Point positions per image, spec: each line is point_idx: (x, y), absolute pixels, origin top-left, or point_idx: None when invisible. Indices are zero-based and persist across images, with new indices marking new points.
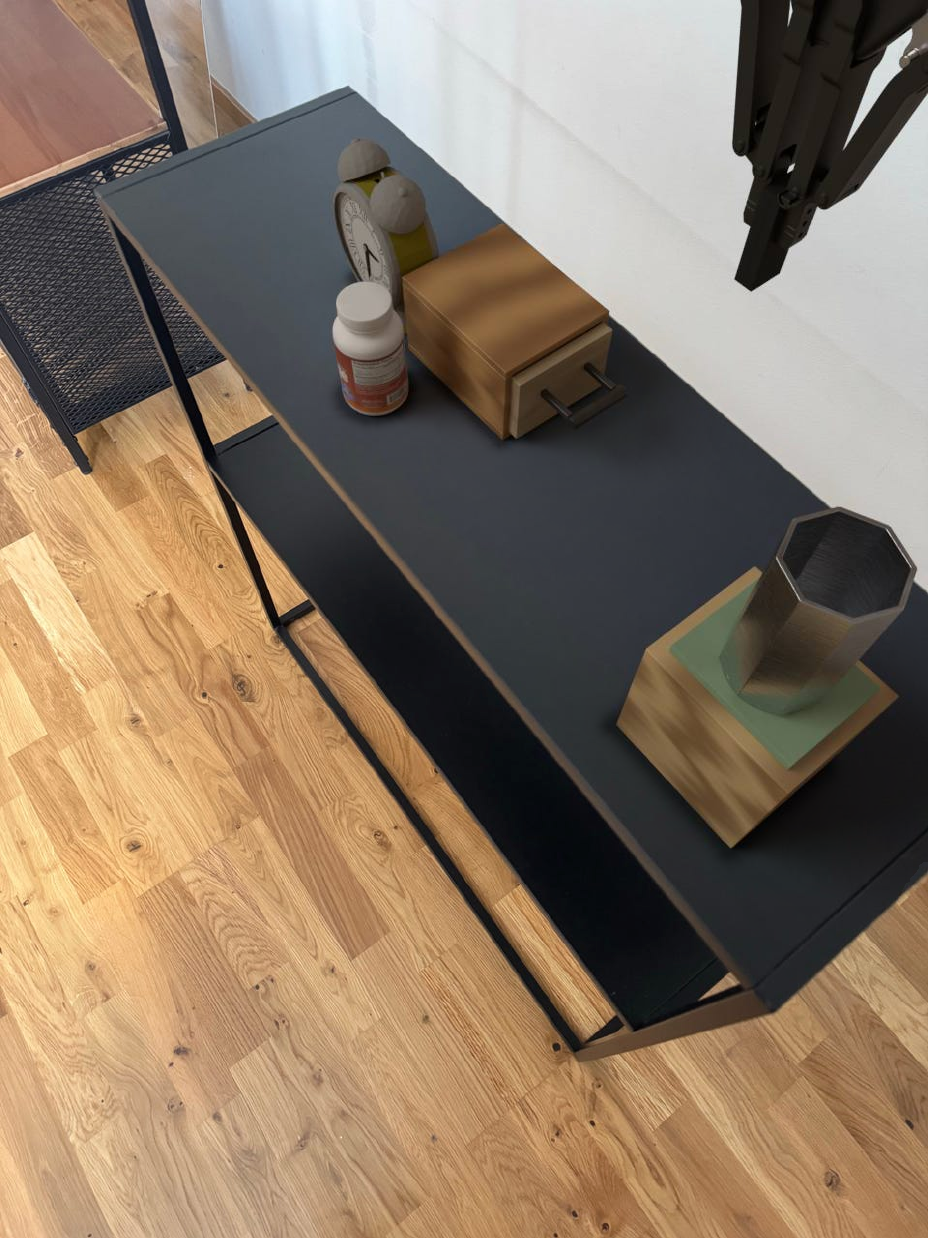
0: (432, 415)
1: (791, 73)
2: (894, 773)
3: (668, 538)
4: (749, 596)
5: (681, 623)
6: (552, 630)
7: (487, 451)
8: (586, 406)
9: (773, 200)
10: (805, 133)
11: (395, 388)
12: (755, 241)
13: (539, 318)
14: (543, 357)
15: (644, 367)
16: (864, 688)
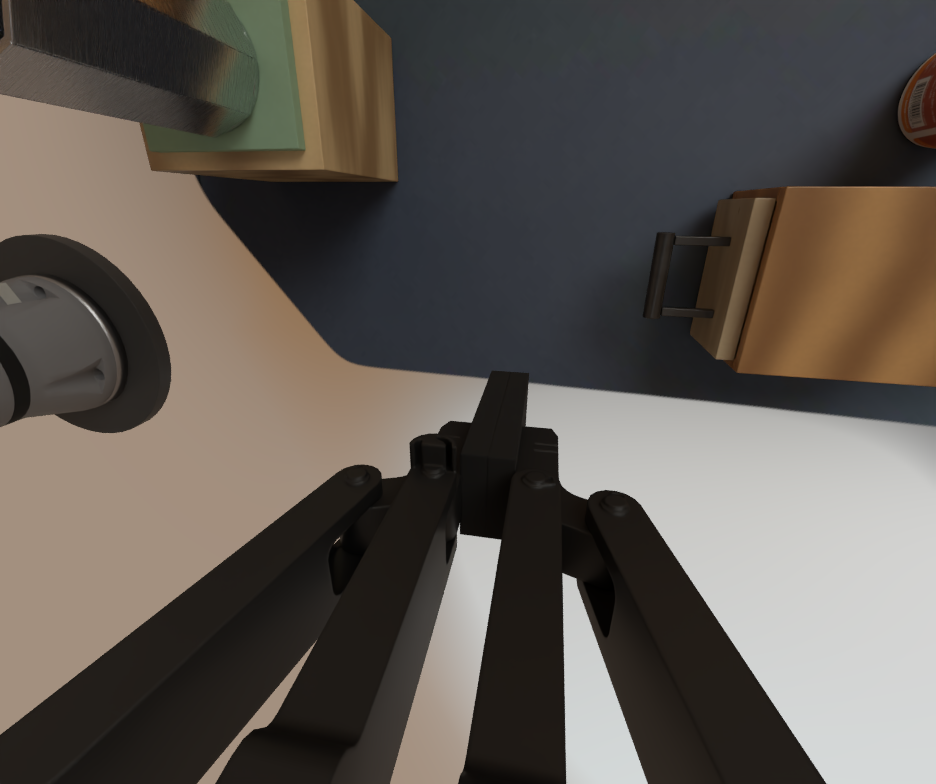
0: (842, 142)
1: (511, 723)
2: (245, 223)
3: (508, 246)
4: (197, 24)
5: (306, 22)
6: (508, 56)
7: (738, 164)
8: (667, 263)
9: (480, 449)
10: (420, 569)
11: (928, 92)
12: (503, 405)
13: (811, 296)
14: None
15: (671, 388)
16: (154, 135)
